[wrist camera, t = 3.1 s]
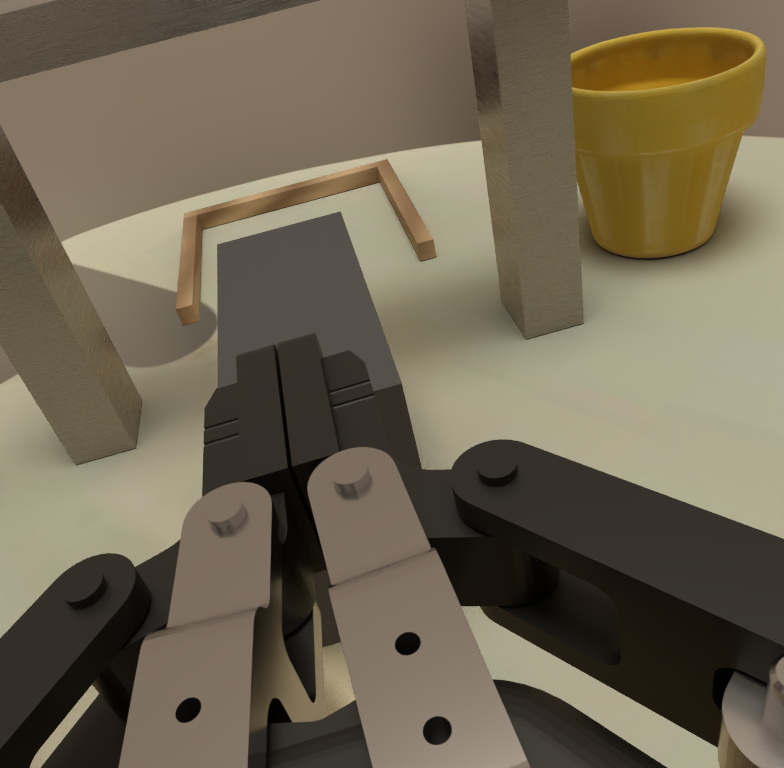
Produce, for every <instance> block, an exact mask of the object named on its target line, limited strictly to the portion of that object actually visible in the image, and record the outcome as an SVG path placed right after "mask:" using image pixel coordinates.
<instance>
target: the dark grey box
mask: <svg viewBox="0 0 784 768" xmlns="http://www.w3.org/2000/svg"><path fill="white" fill-rule="evenodd" d="M217 275H218V388H221V387H224V386H227V385H231V384H234V383H237V370H236V356H237V355H239V354H242V353H246V352H249V351H253V350H256V349H260V348H263V347H267V346H270V345H273V344H275V345H276V347H277V344H278V343H280V342H283V341H287V340H290V339H294V338H297V337H301V336H304V335H308V334H311V333H316V336H317V339H318V341H319V344H320V347H321V350H322V354H323V357H327V356H331V355H334V354H337V353H341V352H344V351H348V350H350V351H351V352H352V353H354V354H355V355H356V356H358V357H359V358H360V359H361V360H363V361H364V362H365V365H366V368H367V371H368V375H369V378H370V382H371V385H372V388H373V392H374V395H375V398H376V402H377V405H378V408H379V412H380V415H381V418H382V422H383V425H384V428H385V432H386V435H387V439H388V442H389V445H390V448H391V450H392V452H393V454H394V455H395V456H396V457H397V458H398V459H399V460H400V461H401V462H403V463H405V464H406V465H409V466H411V467H414V468H418V469H422V468H421V463H420V459H419V455H418V451H417V446H416V442H415V438H414V434H413V430H412V425H411V421H410V417H409V413H408V408H407V404H406V400H405V396H404V392H403V387H402V383H401V380H400V378H399V375H398V372H397V369H396V366H395V364H394V361H393V358H392V355H391V352H390V349H389V347H388V344H387V341H386V338H385V335H384V333H383V330H382V327H381V324H380V321H379V319H378V316H377V313H376V310H375V307H374V304H373V302H372V299H371V296H370V293H369V290H368V288H367V285H366V282H365V279H364V276H363V273H362V271H361V268H360V265H359V262H358V259H357V257H356V254H355V251H354V248H353V245H352V243H351V240H350V237H349V234H348V231H347V228H346V226H345V223H344V220H343V217H342V214H341V212H337V213H333V214H330V215H326V216H322V217H318V218H315V219H311V220H307V221H303V222H300V223H296V224H292V225H288V226H285V227H281V228H277V229H274V230H270V231H266V232H262V233H259V234H255V235H251V236H247V237H244V238H240V239H236V240H233V241H229V242H225V243H221V244H218V245H217ZM277 349H278V347H277ZM313 576H314V584H315V591H316V598H315V599H316V601H317V604H318V606H319V609H320V613H321V628H322V647H325V646H328V645H332V644H335V643H339V642H341V639H340V635H339V631H338V627H337V623H336V619H335V615H334V611H333V607H332V603H331V599H330V595H329V589H328V586H329V585H331V581H330V577H329V573H328V570H324V571H321V572H317V573H314V574H313Z"/></svg>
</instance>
